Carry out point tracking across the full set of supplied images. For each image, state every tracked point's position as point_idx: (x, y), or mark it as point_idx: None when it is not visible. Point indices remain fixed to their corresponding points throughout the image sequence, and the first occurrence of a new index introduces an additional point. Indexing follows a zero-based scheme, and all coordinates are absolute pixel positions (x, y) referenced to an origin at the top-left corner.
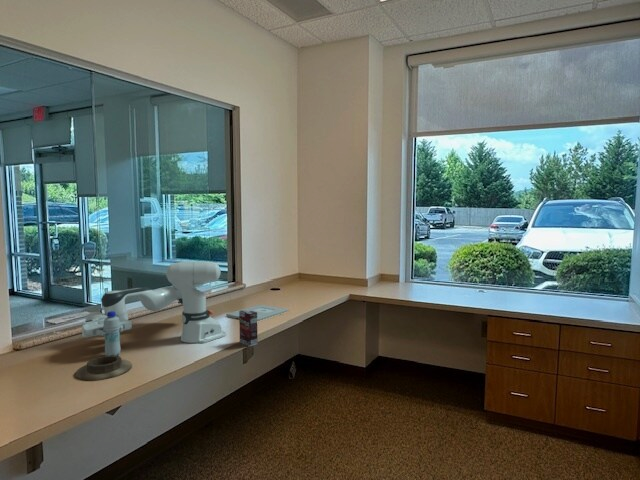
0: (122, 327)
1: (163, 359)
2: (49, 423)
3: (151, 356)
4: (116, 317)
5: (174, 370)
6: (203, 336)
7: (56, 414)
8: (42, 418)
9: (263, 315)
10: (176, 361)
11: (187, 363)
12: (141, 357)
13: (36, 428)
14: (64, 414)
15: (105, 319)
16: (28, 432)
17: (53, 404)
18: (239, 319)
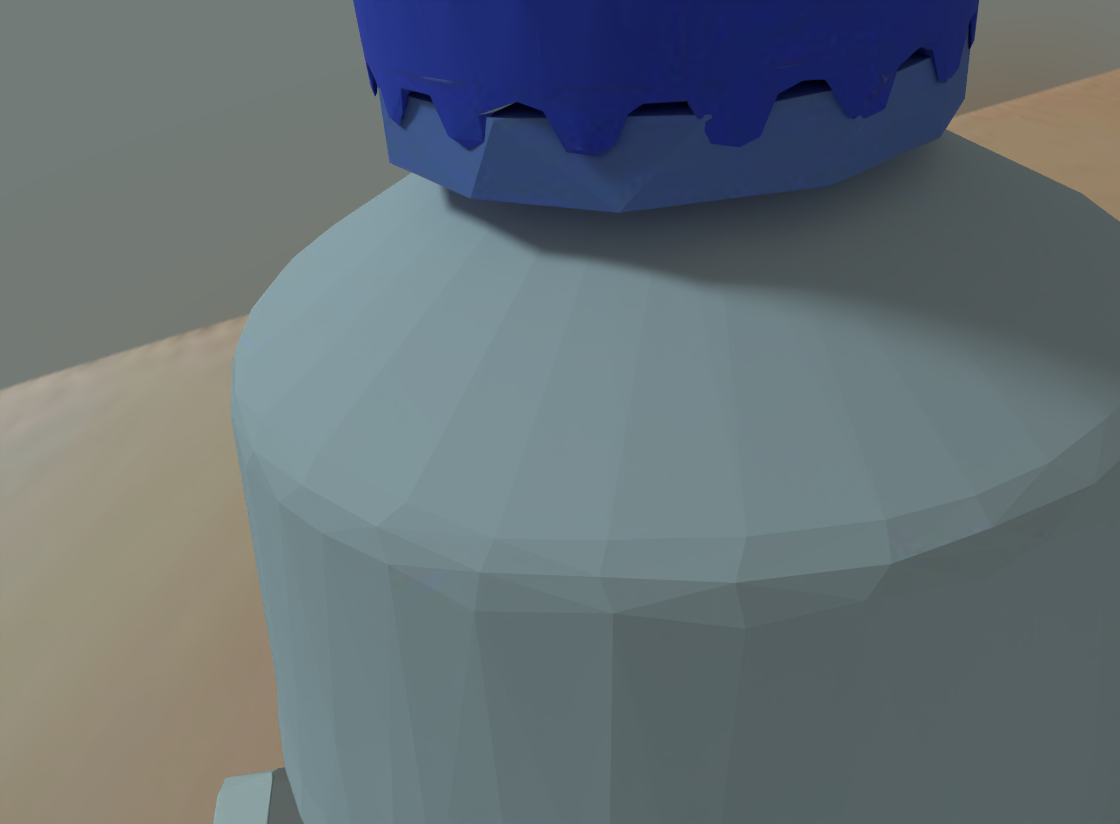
0: (218, 807)
1: (90, 558)
2: (1031, 97)
3: (114, 729)
4: (397, 185)
5: (217, 326)
6: None
7: (1032, 128)
8: (1097, 119)
9: None
10: (46, 461)
11: (23, 394)
12: (252, 760)
13: (1079, 85)
14: (983, 124)
15: (1038, 174)
16: (1103, 76)
17: (1113, 184)
18: None
